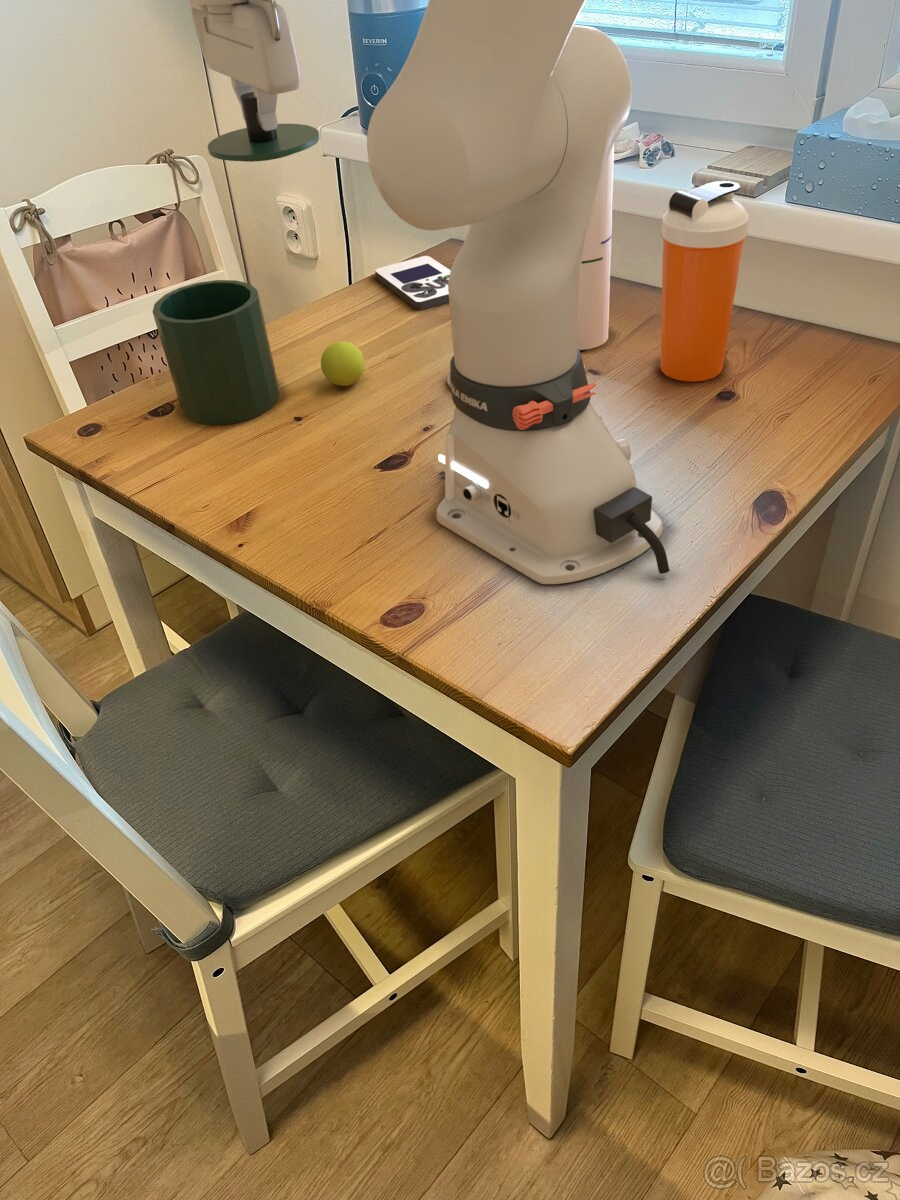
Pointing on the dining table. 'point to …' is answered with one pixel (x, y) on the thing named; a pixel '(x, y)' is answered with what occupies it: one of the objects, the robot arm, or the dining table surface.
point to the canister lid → (261, 138)
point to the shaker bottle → (699, 278)
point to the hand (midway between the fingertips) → (260, 125)
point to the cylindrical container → (597, 266)
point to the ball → (342, 363)
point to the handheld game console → (417, 281)
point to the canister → (217, 351)
